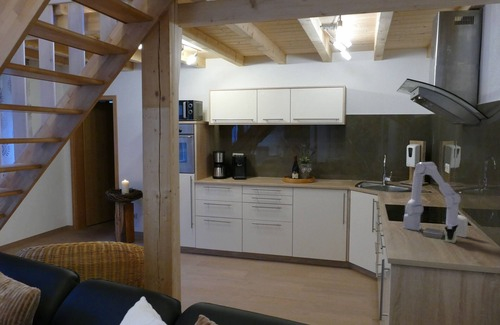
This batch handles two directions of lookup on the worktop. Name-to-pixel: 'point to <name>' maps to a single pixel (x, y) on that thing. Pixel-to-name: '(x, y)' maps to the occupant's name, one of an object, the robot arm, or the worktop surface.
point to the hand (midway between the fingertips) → (450, 238)
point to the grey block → (433, 233)
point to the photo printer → (462, 226)
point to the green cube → (452, 239)
